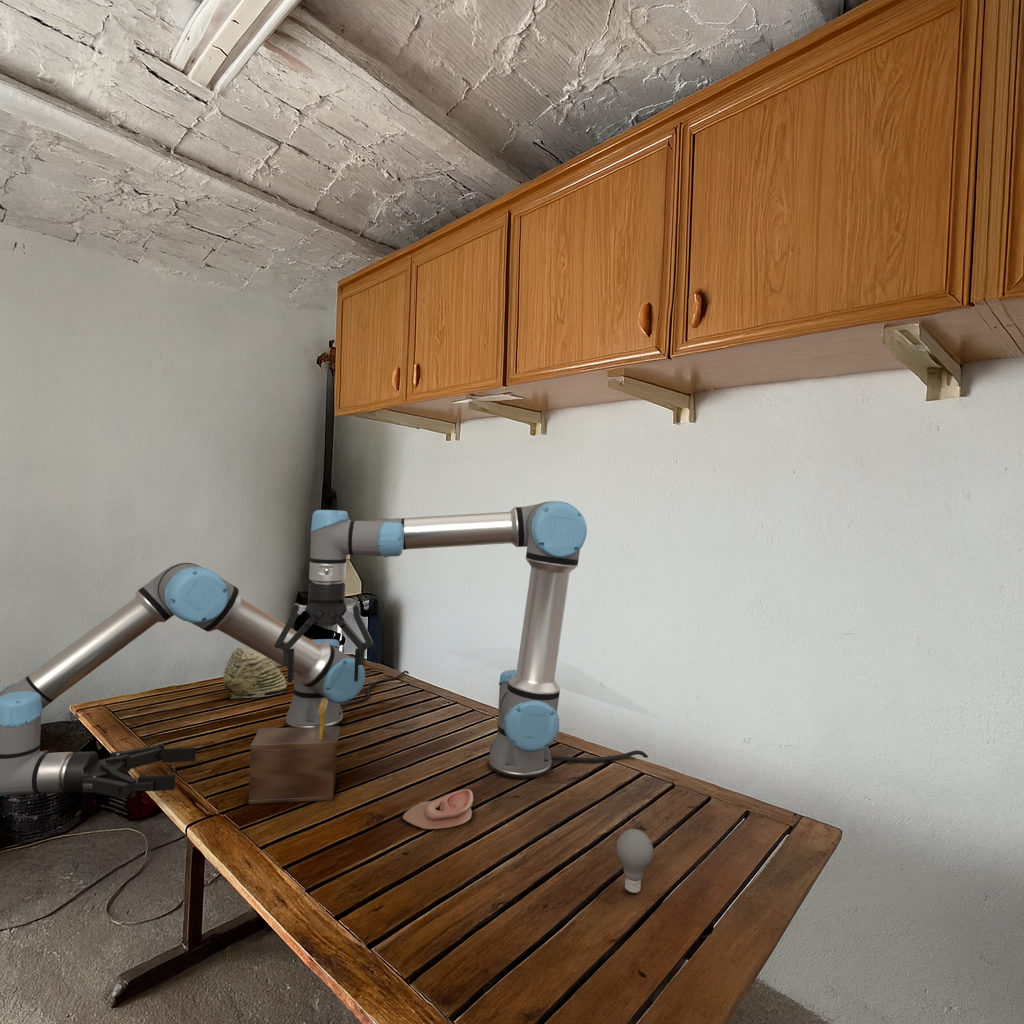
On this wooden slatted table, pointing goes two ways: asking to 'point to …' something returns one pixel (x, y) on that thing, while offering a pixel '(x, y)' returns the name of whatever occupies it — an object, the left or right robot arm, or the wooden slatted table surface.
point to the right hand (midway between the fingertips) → (323, 680)
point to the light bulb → (634, 857)
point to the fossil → (252, 675)
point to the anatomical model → (442, 811)
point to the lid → (298, 735)
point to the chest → (292, 774)
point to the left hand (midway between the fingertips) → (185, 767)
